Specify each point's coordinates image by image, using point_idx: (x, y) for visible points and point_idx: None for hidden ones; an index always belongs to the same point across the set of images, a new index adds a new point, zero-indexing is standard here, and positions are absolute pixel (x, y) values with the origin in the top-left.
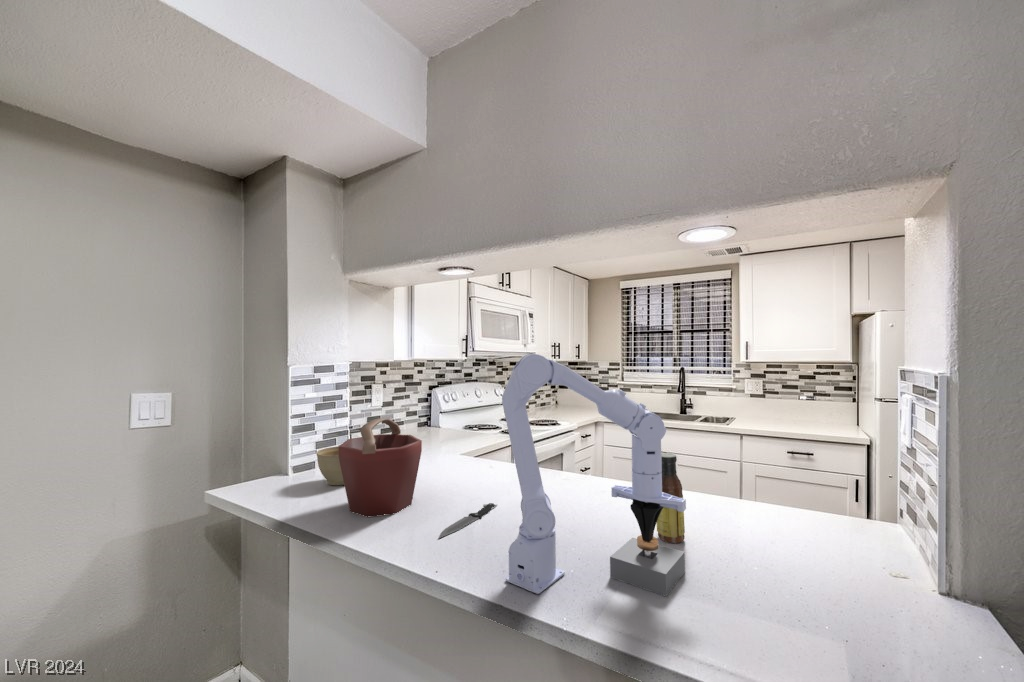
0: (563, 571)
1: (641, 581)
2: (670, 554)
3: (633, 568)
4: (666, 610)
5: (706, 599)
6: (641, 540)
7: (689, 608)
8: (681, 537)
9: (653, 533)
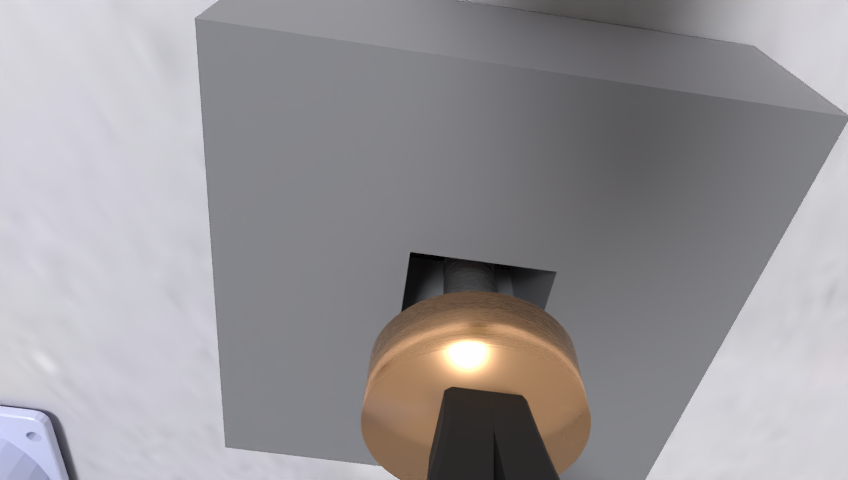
0: (34, 424)
1: None
2: (679, 236)
3: None
4: None
5: (839, 326)
6: (423, 471)
7: (723, 422)
8: None
9: (541, 439)
